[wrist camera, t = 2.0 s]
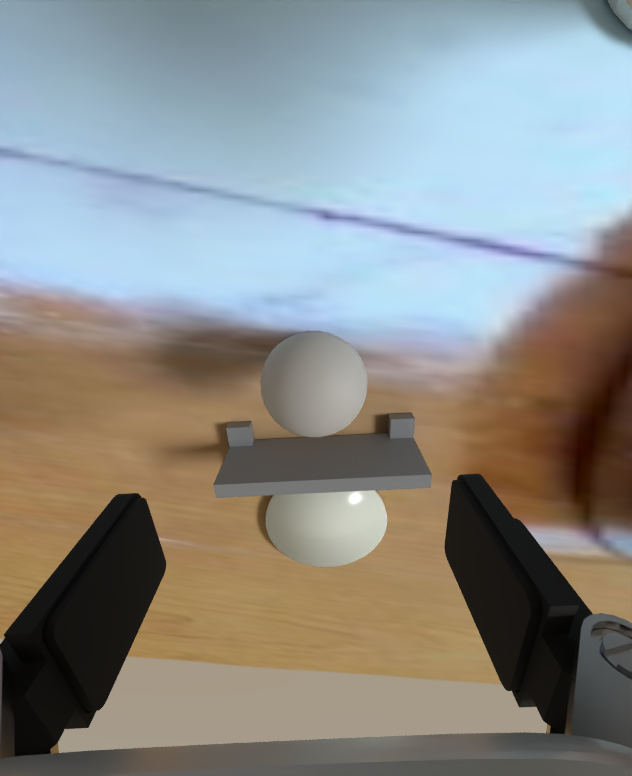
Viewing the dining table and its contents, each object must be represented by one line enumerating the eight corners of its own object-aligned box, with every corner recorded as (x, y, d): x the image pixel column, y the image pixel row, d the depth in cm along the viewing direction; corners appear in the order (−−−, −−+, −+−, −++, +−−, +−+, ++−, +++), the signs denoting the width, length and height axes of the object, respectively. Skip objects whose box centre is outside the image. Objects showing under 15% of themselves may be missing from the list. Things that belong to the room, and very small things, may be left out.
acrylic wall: (228, 422, 29) (208, 463, 24) (411, 412, 29) (433, 452, 23) (237, 469, 31) (220, 516, 26) (408, 460, 31) (428, 507, 25)
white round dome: (259, 472, 31) (257, 477, 31) (386, 466, 31) (388, 471, 30) (273, 562, 36) (272, 569, 35) (384, 557, 36) (385, 564, 35)
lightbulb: (282, 384, 28) (262, 463, 18) (271, 311, 26) (240, 354, 15) (355, 377, 28) (377, 454, 18) (350, 303, 25) (373, 342, 15)
